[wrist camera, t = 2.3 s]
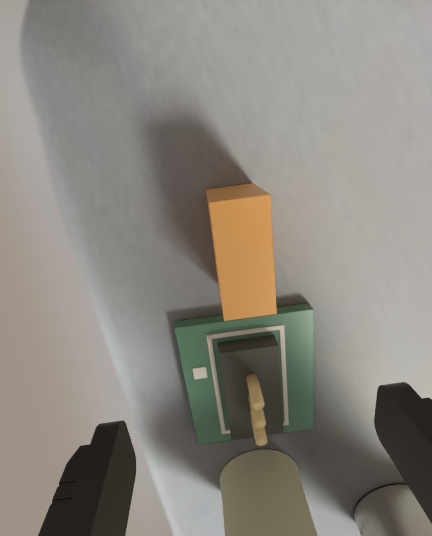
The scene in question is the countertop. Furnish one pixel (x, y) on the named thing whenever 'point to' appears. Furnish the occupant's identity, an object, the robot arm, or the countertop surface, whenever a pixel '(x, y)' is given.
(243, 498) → the can
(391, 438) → the robot arm
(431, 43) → the countertop surface
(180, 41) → the countertop surface
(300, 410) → the header board
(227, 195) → the block
